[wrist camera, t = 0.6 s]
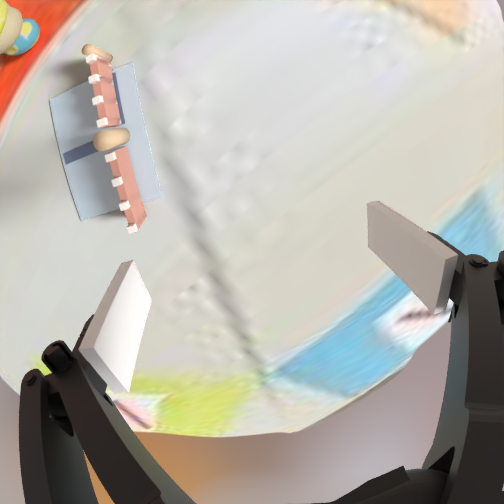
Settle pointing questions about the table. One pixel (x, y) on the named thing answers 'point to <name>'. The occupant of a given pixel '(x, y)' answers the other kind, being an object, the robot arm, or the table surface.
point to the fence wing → (126, 188)
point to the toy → (16, 31)
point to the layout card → (93, 161)
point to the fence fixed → (104, 100)
